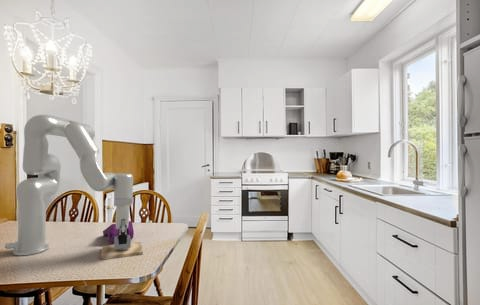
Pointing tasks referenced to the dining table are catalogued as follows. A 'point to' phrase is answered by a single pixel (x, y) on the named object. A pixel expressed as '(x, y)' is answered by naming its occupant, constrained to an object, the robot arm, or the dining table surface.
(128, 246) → the collar
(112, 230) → the mounting bracket
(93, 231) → the dining table surface
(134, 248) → the hub board
